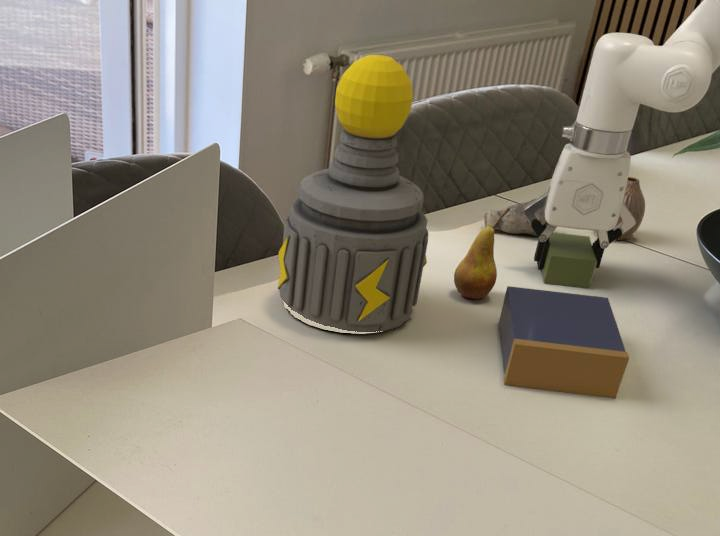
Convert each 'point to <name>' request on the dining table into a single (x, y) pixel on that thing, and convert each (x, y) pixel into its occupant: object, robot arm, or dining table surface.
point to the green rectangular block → (569, 261)
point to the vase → (633, 205)
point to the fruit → (478, 266)
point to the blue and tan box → (561, 342)
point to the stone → (513, 219)
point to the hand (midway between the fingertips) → (564, 268)
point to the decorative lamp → (358, 214)
